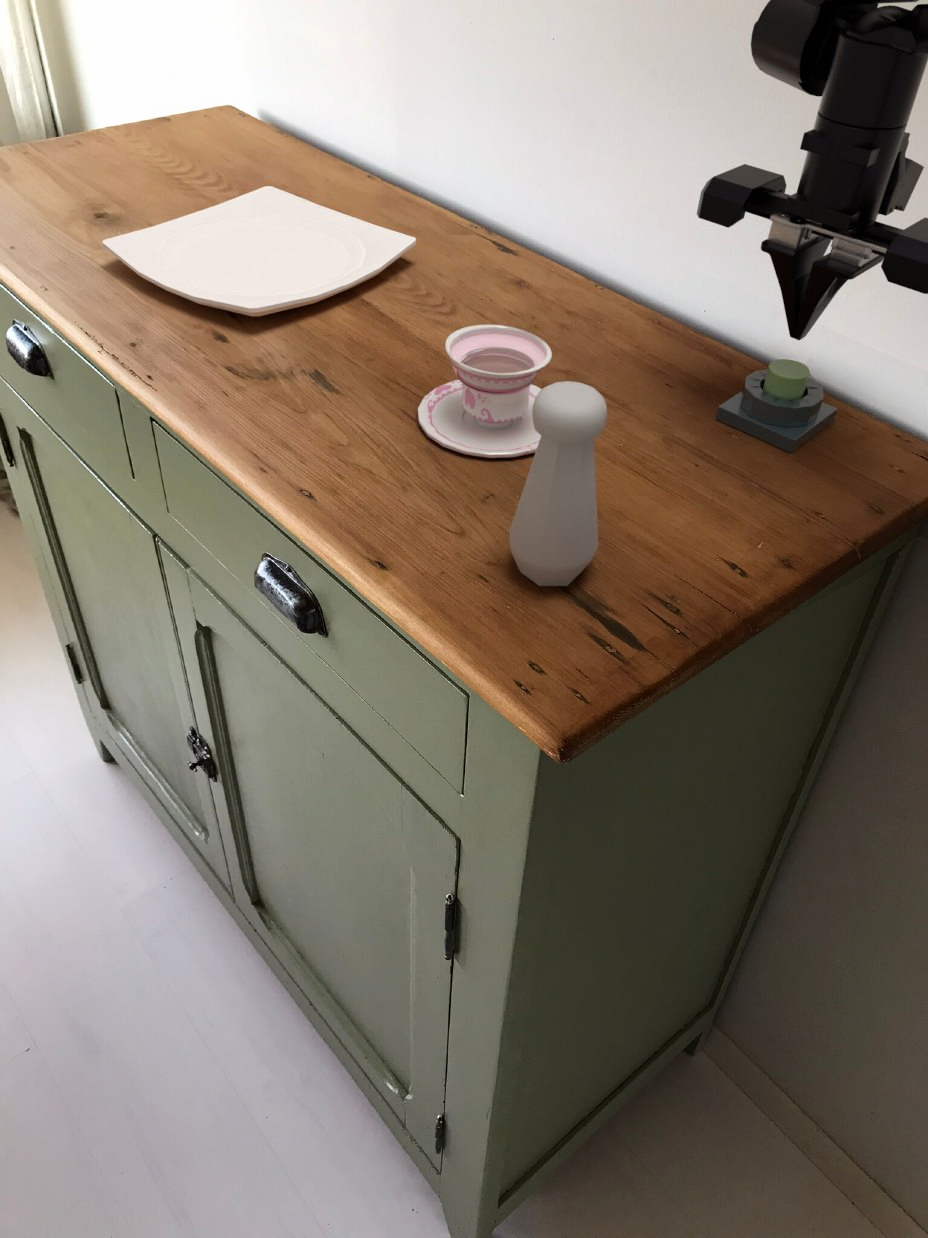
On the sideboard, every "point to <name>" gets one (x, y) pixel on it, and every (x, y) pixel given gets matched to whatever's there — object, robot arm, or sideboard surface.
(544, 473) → the salt shaker
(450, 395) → the teacup
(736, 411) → the button base
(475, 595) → the sideboard surface
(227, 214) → the plate
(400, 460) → the sideboard surface
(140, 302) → the sideboard surface
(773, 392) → the green short cylinder
